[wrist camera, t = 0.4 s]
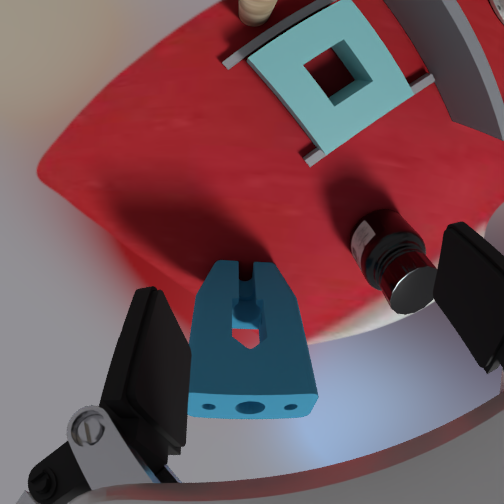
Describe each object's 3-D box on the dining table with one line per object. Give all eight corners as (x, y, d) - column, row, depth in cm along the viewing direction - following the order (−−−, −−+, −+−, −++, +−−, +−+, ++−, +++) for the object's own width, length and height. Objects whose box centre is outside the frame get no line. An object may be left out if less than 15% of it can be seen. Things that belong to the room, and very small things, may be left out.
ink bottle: (340, 218, 37) (376, 274, 27) (399, 195, 35) (449, 242, 25) (355, 273, 42) (385, 333, 32) (407, 252, 40) (446, 305, 30)
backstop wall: (341, -65, 16) (372, -98, 8) (461, 114, 29) (511, 133, 20) (183, 24, 23) (160, 2, 15) (336, 204, 36) (365, 246, 27)
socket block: (333, 6, 22) (348, -4, 18) (392, 90, 28) (414, 94, 24) (246, 61, 26) (247, 58, 22) (314, 144, 31) (326, 155, 27)
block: (201, 288, 42) (186, 416, 25) (200, 259, 39) (181, 391, 22) (284, 291, 43) (307, 416, 26) (290, 263, 40) (321, 392, 23)
